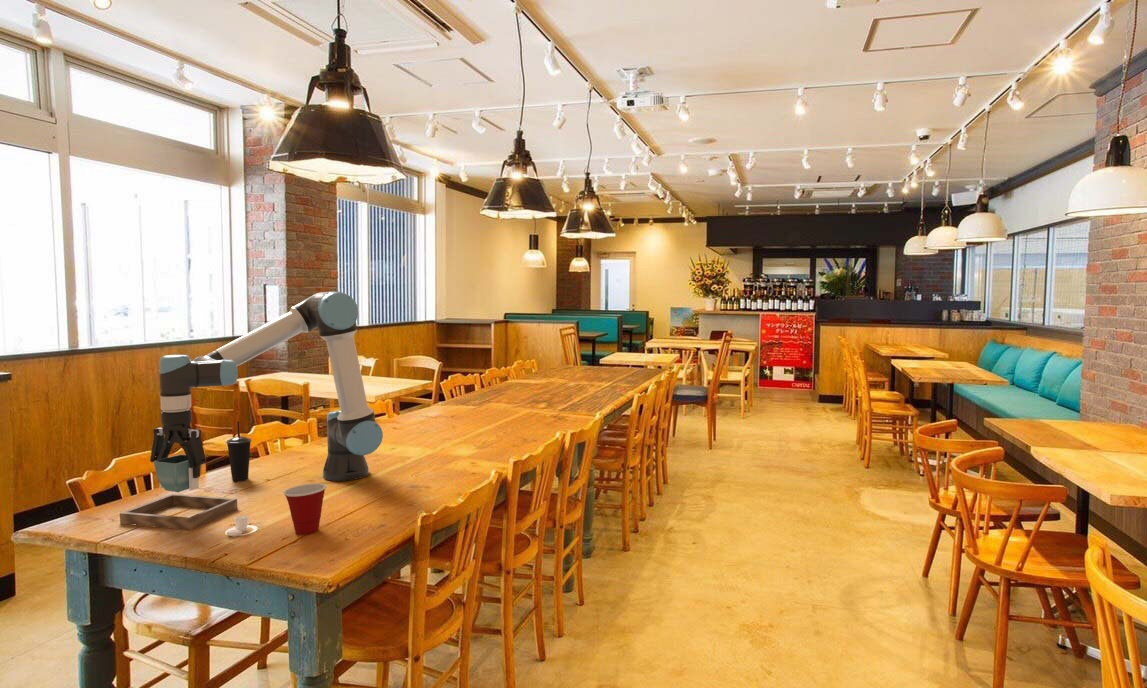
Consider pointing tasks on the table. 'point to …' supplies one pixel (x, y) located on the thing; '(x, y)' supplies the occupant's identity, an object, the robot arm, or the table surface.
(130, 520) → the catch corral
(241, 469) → the drinking cup
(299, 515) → the plastic cup
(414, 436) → the table surface
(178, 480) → the flower pot
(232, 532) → the teacup and saucer
